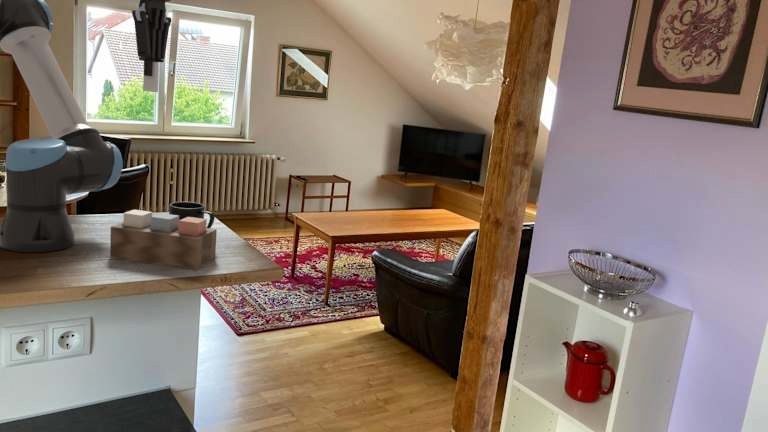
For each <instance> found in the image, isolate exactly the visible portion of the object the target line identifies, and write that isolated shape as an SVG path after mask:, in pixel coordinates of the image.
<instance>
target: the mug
mask: <svg viewBox="0 0 768 432" xmlns="http://www.w3.org/2000/svg"><path fill="white" fill-rule="evenodd" d="M168 209H169V210H168V214H171V215H179V220H182V219H184V218H186V217H194V218H201V219H205V214H207V215H209V221H208V224H207V225H206V228H211V229H212V226H213V225H214V222H215V217H216V216H215V213H214V212H212V211H208V210H207V211H206V210H205V204H202V203H199V202H193V201H174V202H171V203H170V204H169V207H168Z"/></svg>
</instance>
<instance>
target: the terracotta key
mask: <svg viewBox="0 0 768 432" xmlns="http://www.w3.org/2000/svg"><path fill="white" fill-rule="evenodd" d="M207 221H208V220H207V219H206V218H204V219H201V218H194V217H186V218H184V219H182V220H179V233H181V234H188V235H195V236H200V235H202V234H204V233H206V227H207Z"/></svg>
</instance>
